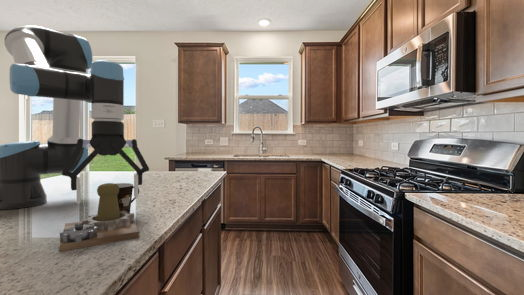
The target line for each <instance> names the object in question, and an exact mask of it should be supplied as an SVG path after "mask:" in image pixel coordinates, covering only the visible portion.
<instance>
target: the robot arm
mask: <svg viewBox="0 0 524 295" xmlns="http://www.w3.org/2000/svg"><path fill="white" fill-rule="evenodd" d="M4 46H5V49H6V51H7V52H8V53H9V54H10V56H12V58H13V61H14V63H12V64H10V67H9V88H10V91H11V92H12V93H13V94H15V95H21V96H28V97H37V98H39V97H40V98H48V99H51V98H52V101H53V102H52V135H51V136H50V137H48V138H47V140H46V141H47V143H44V144H43V143H42V144H41V141H40V140H29V141H27V140H26V141H19V142H18V141H17V142H9V143H3V144H0V210H15V209H23V208H24V209H25V208H29V207H34V206H40V205H43V204H45V203H47V202H48V198H47V194H46V191H45V188H44V186H43V185H42V182H41V176H42V175H52V174H54V175H55V174H61V175H62V176H63V177H68V178H70V189H71V191H76V204H81V201H82V200H81V176H79V174H80V173H82V171H84V169H86V167H87V166H88V165H89V164H90V163H91V162H92V161H93V159H95V158H96V157H97V156H98V155H99V156H102V157H104V156H117V155H120V157H121V158H122V159H123V160H125V162H126V163H127V164H128V165H129V166H130V167H131V168H132V169H133V170H134V171H135V172H136V173H133V186H134V188H133V196H134V197H135V198H136V199H137V198H139V194H138V188H139V186H141V185H143V174H144V173H146V172H149V171H150V167H149V166H148V164H147V163H146V160H145V158H144V156H143V155H142V153H141V151H140V149H139V147H138V141H137V139H135V138H132V139H126V138H125V123H124V122H122V121H124V120H125V119H124V118H125V116H124V115H125V112H124V109H125V108H124V104H125V103H124V100H125V99H124V98H125V97H124V93H125V92H124V91H125V88H124V86H125V83H124V80H125V77H124V67H123V66H122V65H121V64H120V63H117V62H115V61H109V60H102V59H101V60H94V61H93V51H92V47H91V44H90V43H89V41H88V40H87V38H85V37H82V36H79V35H76V34H72V33H68V32H64V31H63V32H62V31H58V30H56V29H51V28H46V27H43V26H40V25H39V26H38V25H22V26H21V25H20V26H17V27H15V28H13V29H11V30H9V31H8V32H7V33H6V35H5V37H4ZM87 70H90V71H89V72H90V74H87ZM81 101H82V102H86V103H90V104H91V105H90V106H91V112H90V113H91V119H93V121H91V138H90V139H82V137H81V136H80V125H81V123H80V122H81V118H80V117H81ZM88 145H90V146H91V147H92V149H93V150H92V151H91V152H90V154H89V147H88ZM126 145H128V147H129V148H131V149H132V151H133V153H134V155H135V157H136V158H137V160H138V162H139V164H140V166H141V167H139V166H138V165H137V164H136V162H135V161H133V159H131V157H130V156H129V155H128V154H127V153H126V152H125V151H124V150H123V148H125V146H126ZM134 197H133V198H134Z"/></svg>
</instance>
